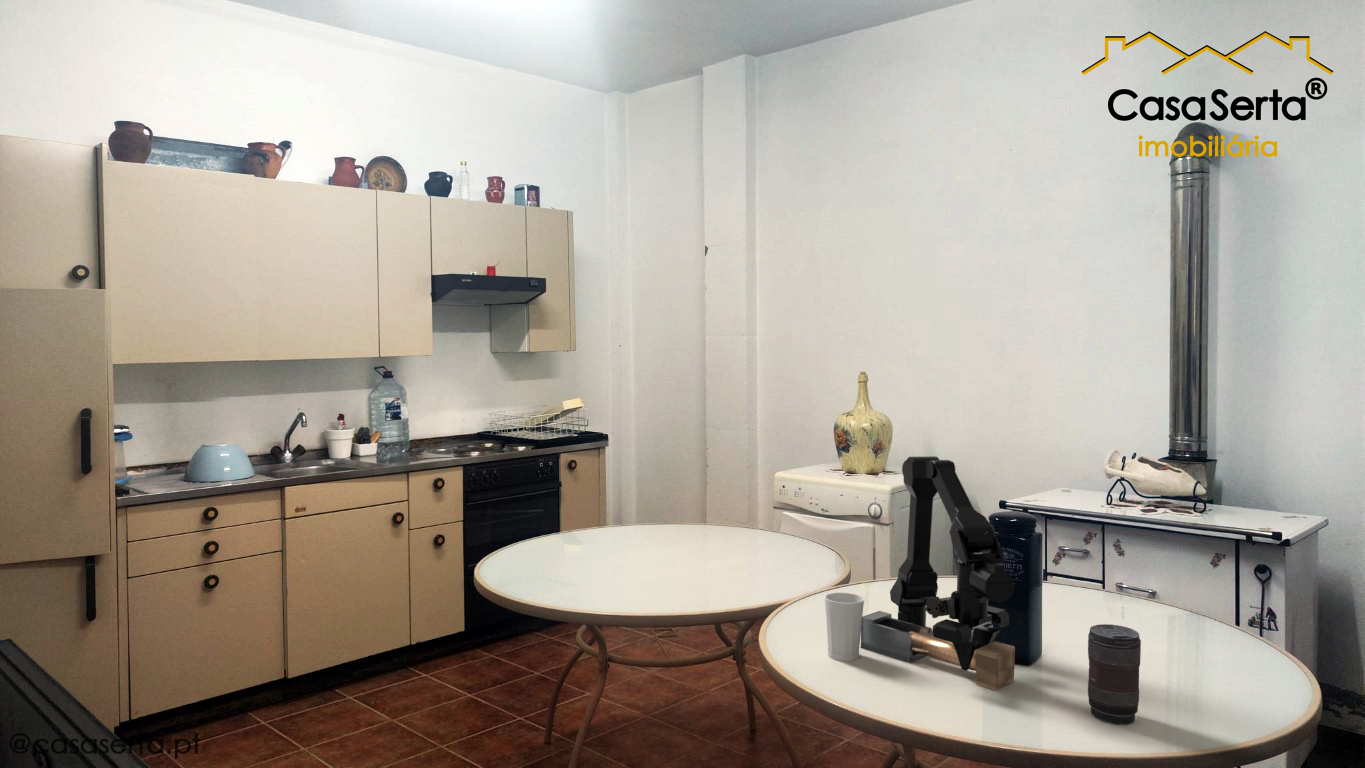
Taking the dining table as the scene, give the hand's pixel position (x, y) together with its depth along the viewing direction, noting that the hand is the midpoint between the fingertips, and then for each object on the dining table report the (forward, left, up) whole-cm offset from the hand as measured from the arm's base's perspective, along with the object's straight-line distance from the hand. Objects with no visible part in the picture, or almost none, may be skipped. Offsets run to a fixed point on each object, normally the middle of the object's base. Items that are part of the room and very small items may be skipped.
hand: (970, 667), depth 169 cm
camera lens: (-1, +26, -2) cm, 26 cm away
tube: (0, -4, 0) cm, 4 cm away
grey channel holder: (0, -17, -2) cm, 17 cm away
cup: (+10, -23, -2) cm, 25 cm away
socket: (0, +5, -2) cm, 5 cm away
